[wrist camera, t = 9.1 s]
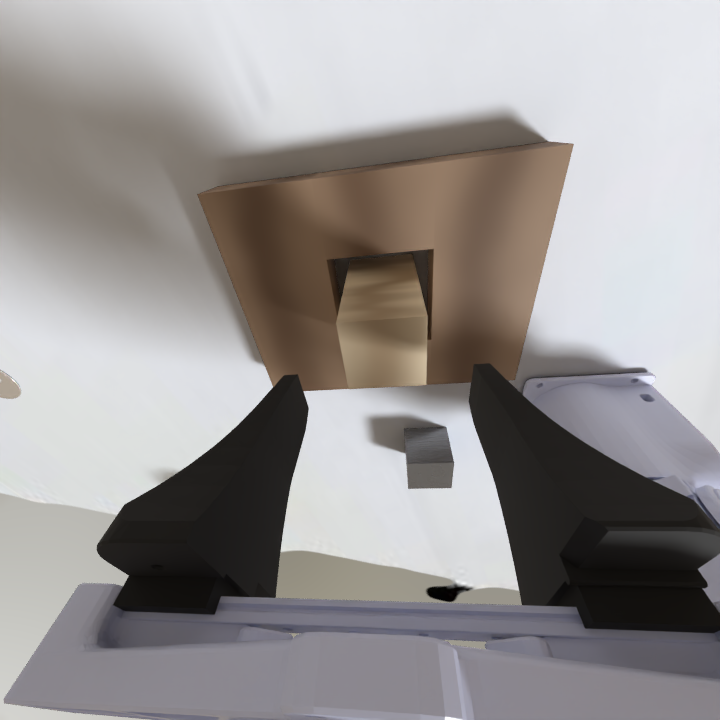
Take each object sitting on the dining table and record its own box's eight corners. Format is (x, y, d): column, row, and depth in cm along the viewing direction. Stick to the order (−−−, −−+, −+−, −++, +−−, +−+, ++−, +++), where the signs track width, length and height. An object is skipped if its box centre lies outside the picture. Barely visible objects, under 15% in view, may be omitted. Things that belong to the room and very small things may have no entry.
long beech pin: (412, 253, 19) (427, 316, 13) (412, 309, 22) (426, 385, 15) (350, 259, 20) (335, 323, 14) (357, 314, 22) (348, 388, 16)
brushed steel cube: (446, 426, 29) (453, 463, 26) (444, 451, 32) (451, 487, 29) (404, 428, 30) (406, 464, 27) (405, 452, 32) (408, 488, 29)
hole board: (548, 141, 16) (573, 144, 14) (503, 358, 24) (514, 379, 22) (217, 186, 18) (197, 194, 16) (283, 372, 26) (275, 392, 24)
